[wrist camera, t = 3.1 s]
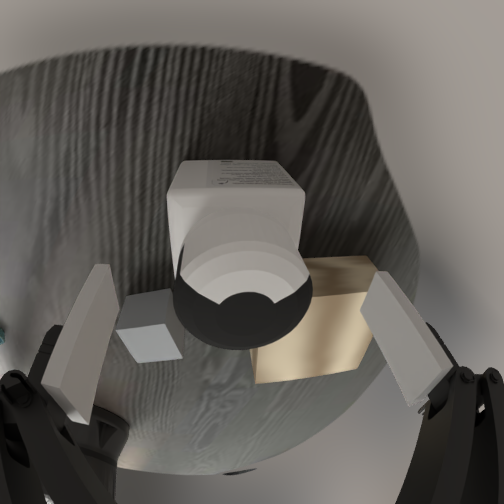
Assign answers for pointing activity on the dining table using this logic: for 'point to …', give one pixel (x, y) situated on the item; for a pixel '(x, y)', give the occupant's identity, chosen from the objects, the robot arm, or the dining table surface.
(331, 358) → the maple block
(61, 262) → the dining table surface
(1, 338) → the teal serving tray
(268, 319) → the container
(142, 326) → the slate cube
